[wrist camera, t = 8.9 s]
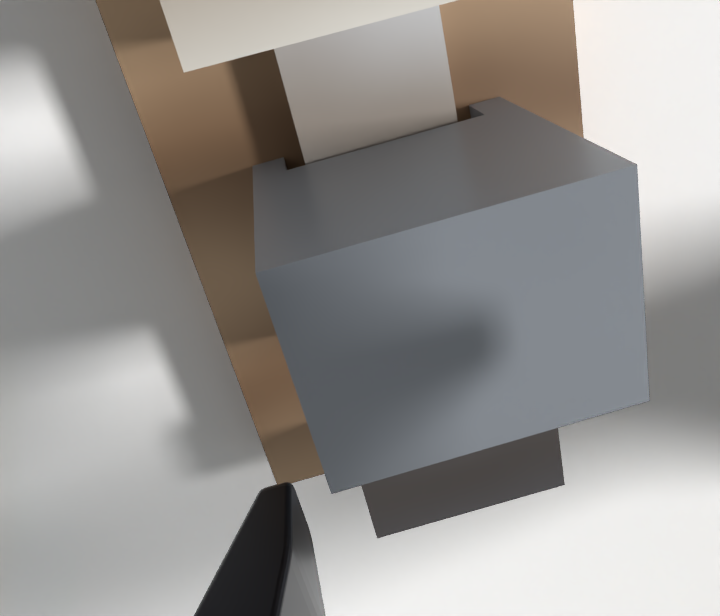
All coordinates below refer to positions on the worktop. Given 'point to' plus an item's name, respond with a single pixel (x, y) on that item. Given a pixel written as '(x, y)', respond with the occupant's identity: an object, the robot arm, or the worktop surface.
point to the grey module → (453, 289)
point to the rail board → (323, 141)
